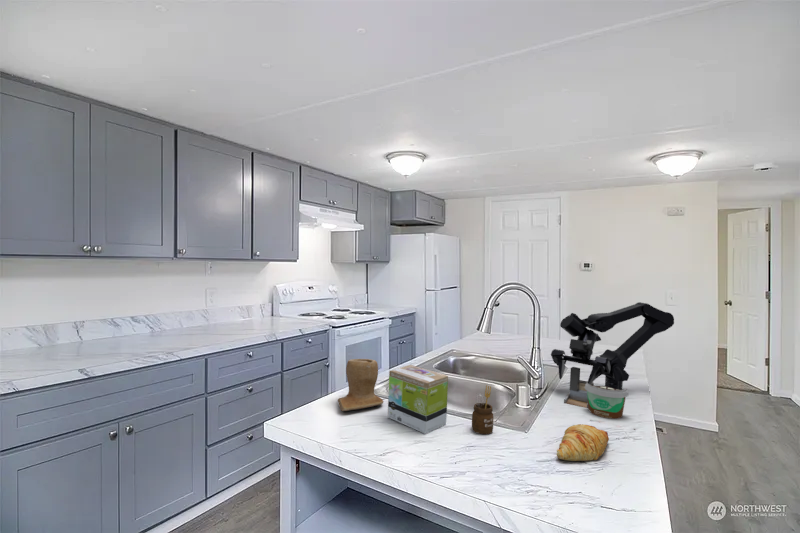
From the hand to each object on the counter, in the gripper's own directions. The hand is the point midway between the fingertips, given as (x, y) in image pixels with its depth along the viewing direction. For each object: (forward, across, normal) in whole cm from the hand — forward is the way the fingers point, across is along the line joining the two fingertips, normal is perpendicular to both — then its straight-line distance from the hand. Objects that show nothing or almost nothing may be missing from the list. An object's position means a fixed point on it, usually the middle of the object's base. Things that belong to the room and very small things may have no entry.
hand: (573, 381), depth 138 cm
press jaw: (+3, +1, +5) cm, 6 cm away
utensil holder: (+34, -12, -23) cm, 43 cm away
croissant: (+30, +13, -18) cm, 37 cm away
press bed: (+3, +1, +8) cm, 8 cm away
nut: (0, +1, +9) cm, 9 cm away
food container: (+10, +12, +1) cm, 16 cm away
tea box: (+40, -29, -29) cm, 58 cm away
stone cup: (+43, -50, -32) cm, 73 cm away
